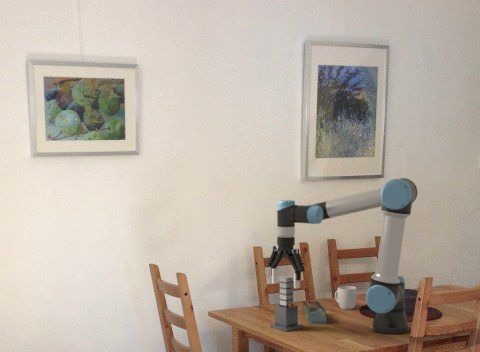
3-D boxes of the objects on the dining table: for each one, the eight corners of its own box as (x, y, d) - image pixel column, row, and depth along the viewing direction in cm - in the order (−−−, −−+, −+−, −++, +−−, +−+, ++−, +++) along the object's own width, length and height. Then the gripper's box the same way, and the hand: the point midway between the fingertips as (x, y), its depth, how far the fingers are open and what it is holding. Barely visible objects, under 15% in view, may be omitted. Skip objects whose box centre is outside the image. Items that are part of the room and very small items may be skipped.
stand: (303, 327, 307) (302, 302, 307) (286, 331, 301) (286, 306, 300) (286, 323, 315) (286, 299, 314) (270, 327, 308) (269, 302, 308)
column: (293, 323, 307) (293, 277, 307) (286, 325, 305) (286, 278, 304) (286, 321, 311) (286, 276, 310) (279, 323, 308) (279, 277, 307)
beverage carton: (308, 324, 314) (308, 309, 314) (301, 314, 333) (301, 300, 333) (326, 323, 315) (326, 309, 314) (318, 314, 334) (318, 300, 334)
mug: (360, 308, 344) (360, 287, 344) (346, 311, 339) (346, 290, 338) (342, 304, 354) (342, 284, 354) (328, 306, 349) (328, 286, 349)
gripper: (313, 238, 299) (312, 288, 300) (272, 232, 318) (272, 280, 319) (300, 239, 294) (300, 291, 295) (259, 234, 314) (259, 282, 314)
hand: (285, 285), depth 307 cm, fingers open, 13 cm apart
